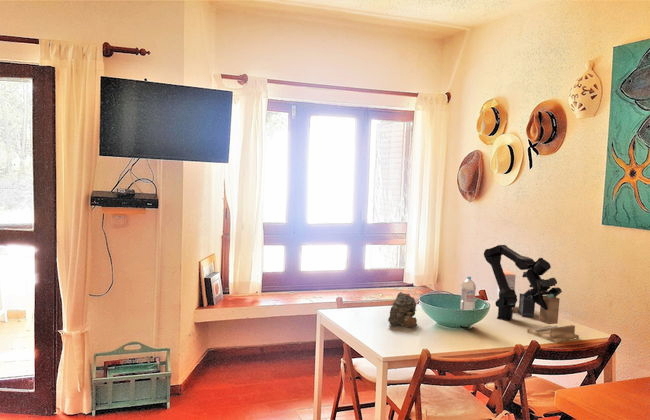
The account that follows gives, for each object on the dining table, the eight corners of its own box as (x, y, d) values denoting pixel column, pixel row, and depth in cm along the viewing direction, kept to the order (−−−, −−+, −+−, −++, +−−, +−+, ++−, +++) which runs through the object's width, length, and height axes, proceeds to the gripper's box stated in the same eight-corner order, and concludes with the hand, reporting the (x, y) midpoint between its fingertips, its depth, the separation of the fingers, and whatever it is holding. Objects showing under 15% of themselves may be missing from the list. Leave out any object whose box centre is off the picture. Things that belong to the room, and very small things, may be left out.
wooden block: (539, 320, 217) (541, 293, 216) (548, 319, 219) (550, 292, 218) (548, 324, 212) (550, 296, 211) (557, 323, 214) (559, 295, 213)
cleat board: (527, 332, 221) (527, 321, 220) (549, 328, 228) (550, 317, 228) (555, 342, 207) (556, 331, 207) (578, 338, 214) (579, 327, 214)
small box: (534, 317, 246) (536, 298, 246) (522, 316, 248) (523, 297, 247) (530, 312, 257) (531, 294, 256) (517, 311, 258) (519, 293, 257)
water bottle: (473, 325, 229) (476, 276, 227) (473, 329, 222) (476, 278, 221) (459, 323, 231) (462, 274, 229) (458, 327, 224) (461, 277, 223)
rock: (390, 286, 233) (417, 286, 223) (402, 304, 240) (428, 304, 230) (379, 316, 222) (406, 317, 212) (392, 334, 229) (418, 335, 219)
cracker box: (496, 303, 273) (498, 269, 272) (506, 304, 273) (508, 269, 271) (502, 310, 259) (505, 273, 258) (513, 310, 259) (516, 274, 257)
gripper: (530, 272, 215) (547, 301, 205) (560, 271, 221) (578, 299, 211) (516, 284, 222) (532, 313, 213) (546, 283, 229) (562, 311, 219)
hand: (551, 309), depth 214 cm, fingers closed on wooden block, 5 cm apart
